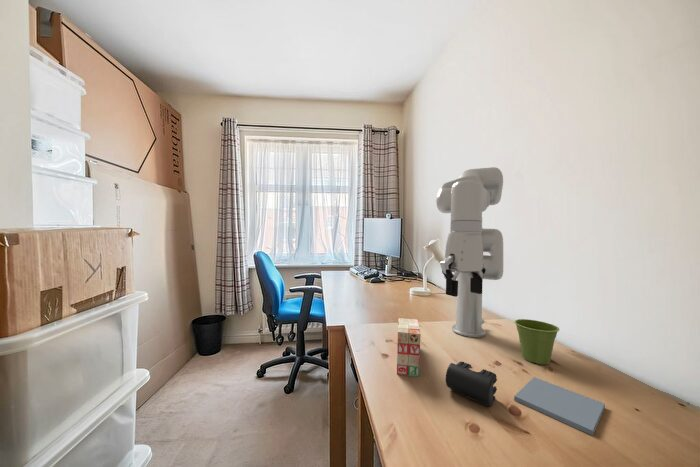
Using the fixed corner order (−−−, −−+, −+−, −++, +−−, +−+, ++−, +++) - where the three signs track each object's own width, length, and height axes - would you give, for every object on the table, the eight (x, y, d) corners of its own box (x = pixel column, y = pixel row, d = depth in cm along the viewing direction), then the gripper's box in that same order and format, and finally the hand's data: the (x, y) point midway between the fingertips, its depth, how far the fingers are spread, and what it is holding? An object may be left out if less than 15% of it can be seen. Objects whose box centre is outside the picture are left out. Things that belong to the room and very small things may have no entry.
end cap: (444, 393, 65) (445, 366, 65) (456, 382, 70) (457, 357, 70) (488, 414, 58) (488, 383, 58) (498, 400, 63) (498, 372, 63)
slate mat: (534, 380, 72) (534, 377, 72) (604, 407, 61) (604, 403, 61) (514, 400, 63) (514, 395, 63) (592, 435, 52) (592, 430, 52)
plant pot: (565, 363, 82) (566, 327, 82) (548, 372, 76) (548, 334, 76) (524, 348, 93) (525, 316, 93) (506, 356, 86) (506, 321, 86)
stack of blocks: (397, 344, 95) (398, 309, 95) (415, 345, 93) (416, 311, 93) (396, 375, 74) (397, 331, 74) (419, 378, 72) (420, 333, 72)
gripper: (473, 230, 77) (472, 289, 76) (431, 227, 68) (429, 293, 68) (499, 230, 70) (498, 294, 70) (455, 226, 62) (454, 300, 61)
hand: (464, 294), depth 69 cm, fingers open, 9 cm apart
